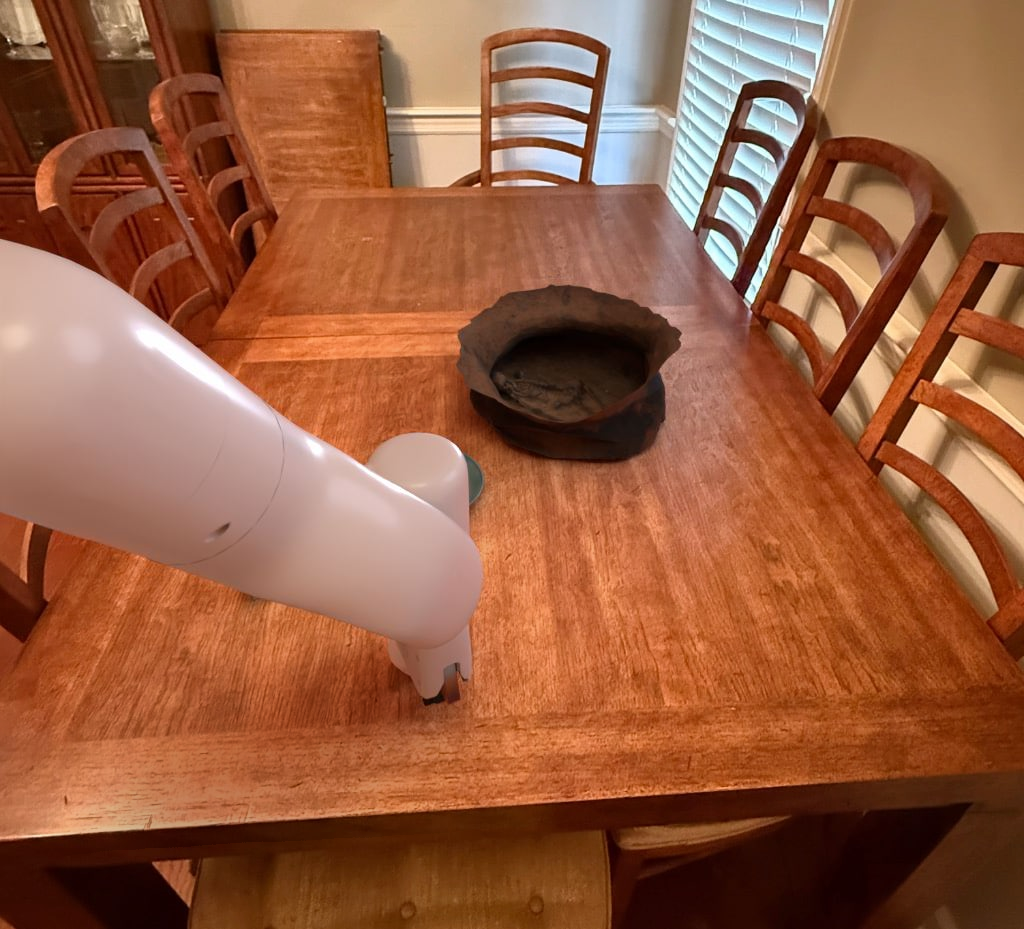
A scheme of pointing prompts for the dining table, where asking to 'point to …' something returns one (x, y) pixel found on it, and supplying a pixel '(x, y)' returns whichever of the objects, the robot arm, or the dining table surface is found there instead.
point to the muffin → (396, 656)
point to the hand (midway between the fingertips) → (436, 694)
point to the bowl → (569, 371)
